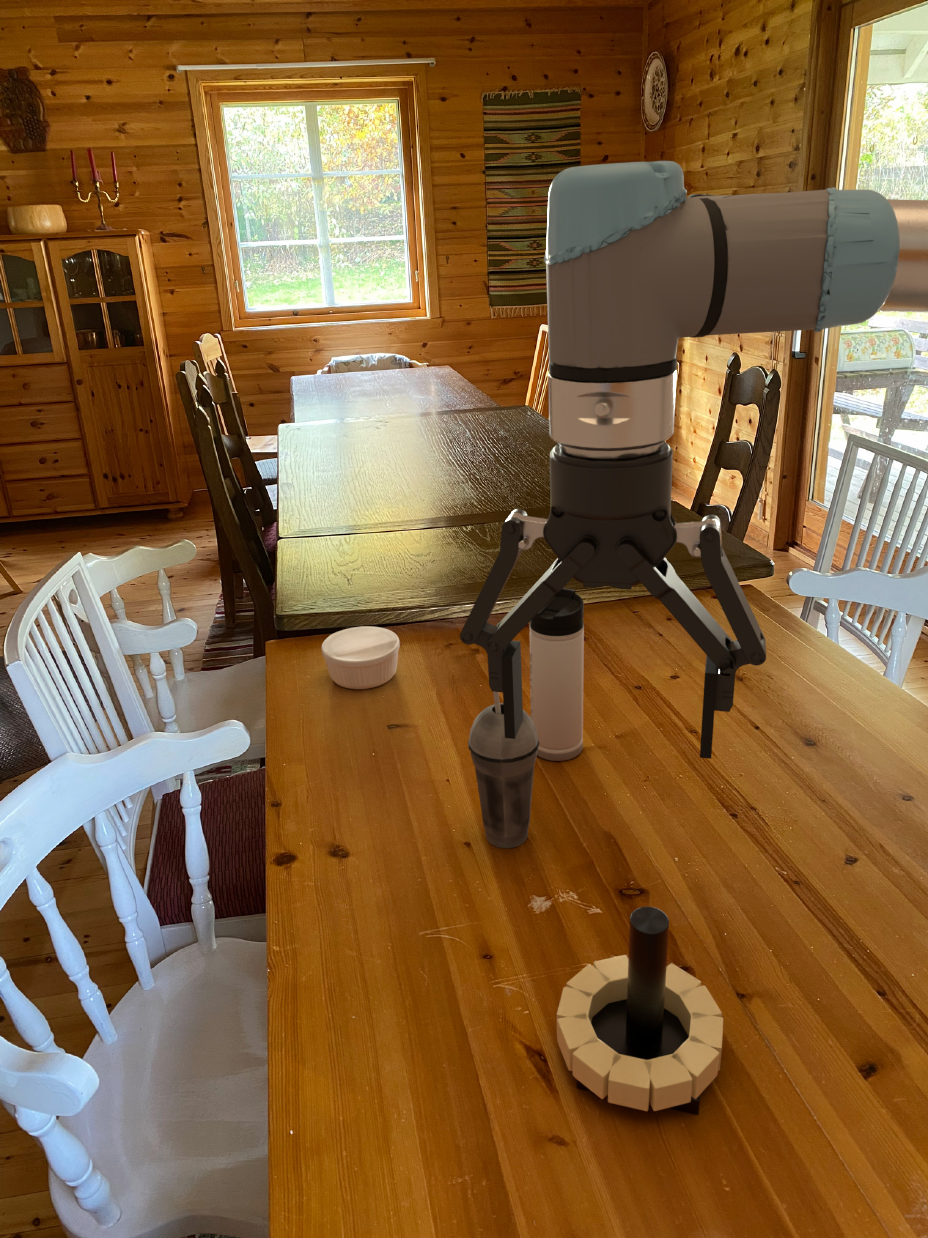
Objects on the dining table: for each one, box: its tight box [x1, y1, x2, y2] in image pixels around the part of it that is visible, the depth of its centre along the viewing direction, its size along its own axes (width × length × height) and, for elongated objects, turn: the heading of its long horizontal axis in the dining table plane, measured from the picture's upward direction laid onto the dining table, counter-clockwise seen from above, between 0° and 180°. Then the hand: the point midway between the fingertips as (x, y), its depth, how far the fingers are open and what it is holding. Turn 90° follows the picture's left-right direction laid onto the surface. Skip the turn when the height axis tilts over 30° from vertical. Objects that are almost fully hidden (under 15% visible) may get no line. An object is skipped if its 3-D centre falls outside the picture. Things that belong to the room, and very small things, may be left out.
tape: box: [556, 954, 724, 1112], centre depth 71 cm, size 12×12×2 cm
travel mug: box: [529, 587, 585, 762], centre depth 108 cm, size 6×7×20 cm
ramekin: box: [321, 625, 401, 690], centre depth 131 cm, size 11×11×5 cm
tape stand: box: [576, 906, 701, 1115], centre depth 69 cm, size 9×9×14 cm
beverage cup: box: [467, 692, 540, 849], centre depth 93 cm, size 7×7×20 cm
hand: (607, 738), depth 65 cm, fingers open, 13 cm apart
